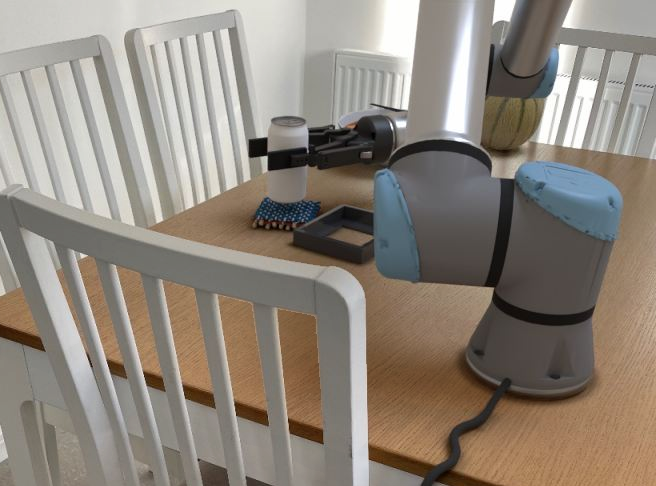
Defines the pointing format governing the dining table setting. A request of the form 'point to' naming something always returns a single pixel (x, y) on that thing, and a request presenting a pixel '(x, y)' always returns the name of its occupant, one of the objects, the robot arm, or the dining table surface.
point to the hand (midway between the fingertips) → (259, 155)
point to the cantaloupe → (510, 121)
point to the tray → (341, 216)
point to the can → (292, 181)
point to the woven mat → (285, 213)
